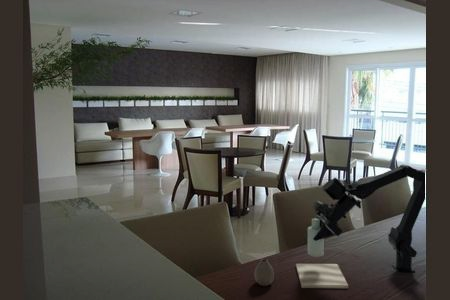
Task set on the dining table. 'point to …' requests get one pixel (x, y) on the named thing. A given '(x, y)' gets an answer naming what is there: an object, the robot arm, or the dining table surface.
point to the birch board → (321, 276)
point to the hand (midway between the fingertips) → (312, 237)
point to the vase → (264, 273)
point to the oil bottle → (314, 246)
